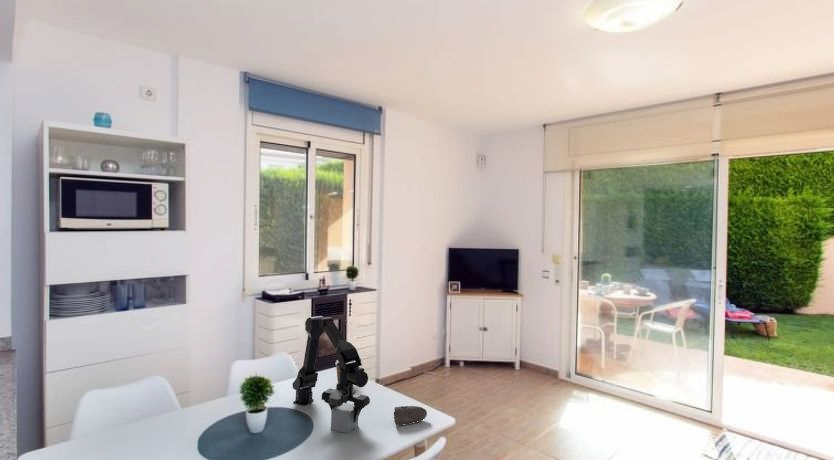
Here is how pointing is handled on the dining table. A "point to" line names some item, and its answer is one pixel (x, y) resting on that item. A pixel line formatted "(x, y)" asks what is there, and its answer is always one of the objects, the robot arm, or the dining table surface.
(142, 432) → the dining table surface
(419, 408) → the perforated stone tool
